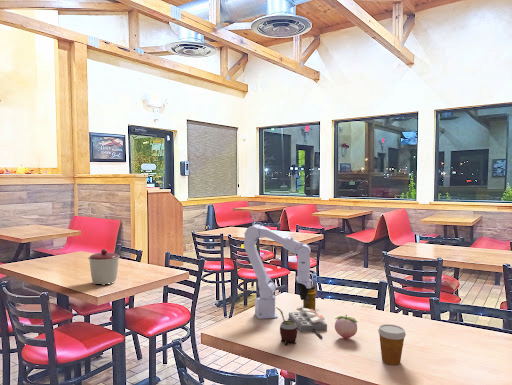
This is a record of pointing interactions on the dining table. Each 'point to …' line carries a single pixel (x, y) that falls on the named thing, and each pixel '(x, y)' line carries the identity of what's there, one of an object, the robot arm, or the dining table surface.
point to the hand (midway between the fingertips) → (303, 299)
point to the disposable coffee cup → (391, 343)
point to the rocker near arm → (308, 310)
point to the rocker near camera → (317, 319)
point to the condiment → (310, 299)
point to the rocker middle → (311, 314)
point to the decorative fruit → (346, 326)
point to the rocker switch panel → (307, 323)
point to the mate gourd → (288, 331)
